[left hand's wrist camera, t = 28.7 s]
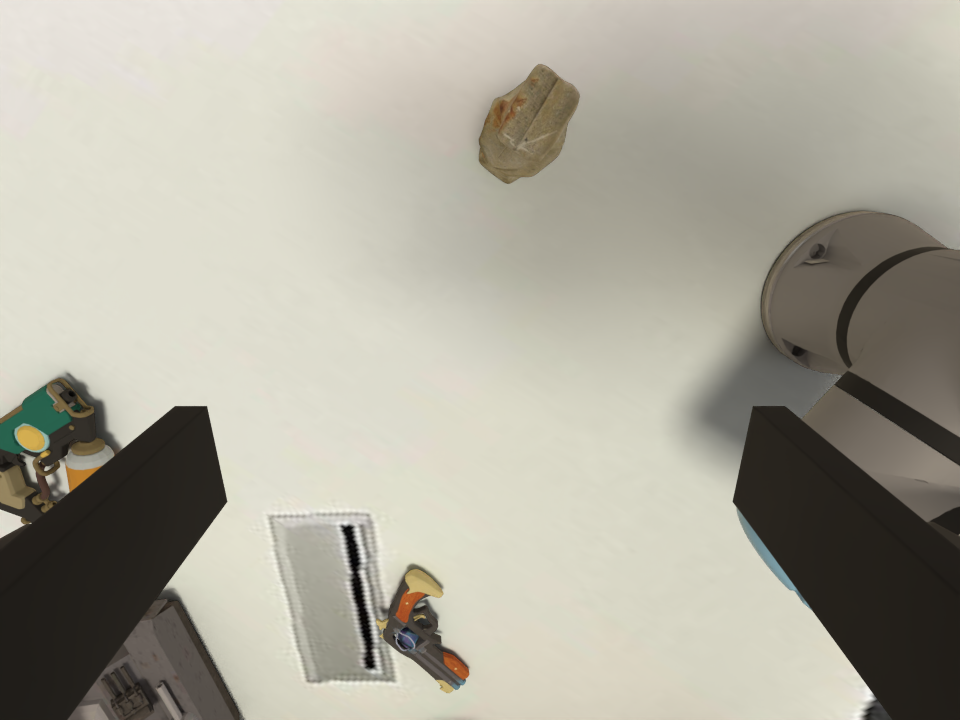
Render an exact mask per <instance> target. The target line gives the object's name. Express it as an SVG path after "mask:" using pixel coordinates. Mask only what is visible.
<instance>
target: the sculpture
mask: <svg viewBox="0 0 960 720" xmlns="http://www.w3.org/2000/svg"><path fill="white" fill-rule="evenodd" d="M579 98H580V95H579V92H578V91H577V89H576V88H575V87H574V86H573V85H572V84H570V83H568V82H566V81H564V80H563V79H561V78H560V77H559V76H558V75H557V74H556V73H555V72H553V71H552V70H551V69H550V68H548V67H547V66H545V65H542V64H538V65H537V66H536V67H535V68H534V69H533V70H532V72H531V73H530V75H529V76H528V78H527V79H526V80H525V81H524V82H523V83H522V84H520V85H519V86H518V87H516V88H515V89H514V90H512V91H511V92H509V93H508V94H506V95H504V96H502V97H498V98H496V99H494V101H493V103H492V106H491V109H490V111H489V114H488V116H487V118H486V120H485V123H484V127H483V130H482V133H481V136H480V138H479V145H480V153H479V162H480V163H481V165H483V166H484V167H485V168H486V169H487V170H488V171H489V172H491V173H492V174H493V175H495V176H496V177H497V178H499V179H500V180H502V181H503V182H505V183H507V184H510V183H512V182H514V181H515V180H517V179H518V178H520V177H531V176H534V175H535V174H537V173H538V172H539V171H541V170H542V169H543V168H544V167H546V166H547V165H548V164H550V163H551V162H552V161H553V160H554V159H555V158H557V156H558V155H559V153H560V151H561V149H562V146H563V144H564V141H565V136H566V130H567V124H568V122H569V120H570V119H571V117H572V115H573V114H574V112H575V110H576V108H577V105H578V102H579Z"/></svg>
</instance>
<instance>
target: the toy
mask: <svg viewBox="0 0 960 720" xmlns="http://www.w3.org/2000/svg"><path fill="white" fill-rule="evenodd" d="M68 720H239V713H238V711H237V709H236V707H235V705H234V703H233V701H232V700H231V698H230V696H229V694H228V692H227V690H226V688H225V687H224V685H223V683H222V681H221V679H220V677H219V675H218V674H217V672H216V670H215V668H214V666H213V664H212V662H211V661H210V659H209V657H208V655H207V653H206V651H205V649H204V648H203V646H202V644H201V642H200V640H199V638H198V636H197V635H196V633H195V631H194V629H193V627H192V625H191V623H190V622H189V620H188V618H187V616H186V614H185V612H184V610H183V609H182V607H181V605H180V603H179V601H172V602H167V599H162V600H155V601H154V602H153V604H152V605H151V607H150V608H149V609H148V611H147V612H146V613H145V615H144V616H143V617H142V619H141V620H140V622H139V623H138V624H137V626H136V627H135V628H134V630H133V631H132V632H131V634H130V635H129V637H128V638H127V639H126V641H125V642H124V643H123V645H122V646H121V647H120V649H119V650H118V652H117V653H116V654H115V656H114V657H113V658H112V660H111V661H110V662H109V664H108V665H107V667H106V668H105V669H104V671H103V672H102V673H101V675H100V676H99V677H98V679H97V680H96V682H95V683H94V684H93V686H92V687H91V688H90V690H89V691H88V693H87V694H86V695H85V697H84V698H83V699H82V701H81V702H80V703H79V705H78V706H77V708H76V709H75V710H74V712H73V713H72V714H71V716H70V717H69V718H68Z"/></svg>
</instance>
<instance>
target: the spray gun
mask: <svg viewBox="0 0 960 720" xmlns="http://www.w3.org/2000/svg"><path fill="white" fill-rule="evenodd" d="M55 382H60V383H61V384H63V385H64V387H65V388H66V389H67V390H63V389H62V388H61V387H60V386H59V385H56V384H53V383H55ZM77 401H78V402H79V403H80V404H75V403H76V402H77ZM80 405H81V406H82V407H83V408H84V409H88V410H81V411H80V407H81V406H80ZM74 439H76V440H78V441H77V442H75V443H74V444H73V445H72V447H71V450H72V451H71V452H70V453H69V454H68V448H69V442H71V441H72V440H74ZM22 451H23V452H25V453H27V454H29V455H31V456H34V457H36V458H35V459H34V461H33V467H34V469H35V470H36V477H37V481H38V484H39V486H40V488H41V490H42V492H41V493H39V494H38V493H37V492H36V490H35V489H34V488H31V487H28V486H26V484H25V481H24V478H23V475H22V472H21V469H20V467H19V466H25V465H26V462H24V461H22V460H21V458H20V453H21V452H22ZM67 454H68V455H67ZM66 455H67V459H66V464H65V465H66V471H67V477H68V483H69V490H70V492H71V491H72V490H73V489H75V488H76V487H77V486H78V485H79V484H81V483H82V482H83V481H84V480H86V479H87V478H88V477H89V476H90V475H92V474H93V473H94V472H95V471H97V470H98V469H99V468H100V467H101V466H103V465H104V464H105V463H106V462H108V461H109V460H110V459H111V458H112V457H114V456H115V455H114V452H113V450H112V449H111V448H110V447H109V446H107V445H105V441H104V440H103V439H100V438H96V428H95V416H94V407H93V406H88V405H87V404H86V403H85V402H84V401H83V400H82V399H81V398H80V396H79V395H78V394H77V393H76V392H75V391H74V390H73V388H72V387H71V386H70V385H69V384H68V383H67V382H66V381H65V380H64V379H61V378H58V379H55V380H53V381H51V382H49V383H48V384H47V385H45V386H44V387H42V388H40V389H39V390H37V391H36V392H34V393H33V394H31V395H30V396H28V397H27V398H25V399H24V401H23V403H22V405H21V406H19V407H17V408H16V409H14V410H13V411H11V412H10V413H8V414H7V415H5V416H4V417H2V418H1V419H0V509H1V510H4V511H6V512H9V513H12V514H15V515H18V516H20V517H22V518H21V522H22V523H23V524H29V523H33V522H34V521H36V520H37V519H38V518H39V517H40V516H42V515H43V514H44V513H45V512H46V511H48V510H49V509H50V508H51V507H53V506H54V505H55V504H56V503H57V502H56V501H49V500H48V497H49V495H50V488H49V486H48V484H47V482H46V479H45V476H48V475H50V474H52V473H54V472H55V471H56V470H57V469H58V468H59V467H60V463H59V461H58V460H59V459H61V458H63V457H64V456H66ZM39 461H41V462H40V463H39ZM53 463H54V467H53V468H51V469H50V470H48V471H44V468H45V467H46V466H50V465H51V464H53Z"/></svg>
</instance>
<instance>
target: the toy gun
mask: <svg viewBox="0 0 960 720" xmlns="http://www.w3.org/2000/svg"><path fill="white" fill-rule="evenodd" d="M442 595H443V591H442V589H441V588H440V587H439V586H438V584H437V583H436V582H435V581H434V580H433V579H432V578H431V577H429V576H428V575H427V574H426V573H424V572H422V571H420V570H418V569H414V570H410V571H409V572H408V573H407V574H406V575H405V579H404V581H403V582H402V584H401V586H400V587H399V590H398V592H397V594H396V597H395V600H394V602H393V603H392V604H391V605H390V609H389V618H388V619H385V620H383V621H381V620H379V619H377V618H376V623H377V625H378V626H379V628H380V630H381V629H382V628H384V631H383V634H381V635H380V637H381V638H383V639H384V640H385V641H386V642H387V643H388V644H390V645H391V646H392V647H393V648H395V649H396V650H397V651H398V652H400V653H401V654H403V655H405V656H407V657H409V658H411V659H412V660H414V661H415V662H416V663H417V664H419V665H420V666H421V667H422V668H423V669H424V670H425V671H427V672H428V673H429V674H430V675H431V676H432V677H433V678H434V679H435V680H436V681H437V682H438V683H440V686H442V687H441V688H440V689H441V690H442V691H444V692H446V693H450V692H452V691H453V690H454V689H455V690H458V689H459V688H460V685H464V684H465V682H466V678H467V677H468V676H469V669H468V668H467V667H466V666H465V665H464V664H463V663H462V662H461V661H459V660H458V659H457V658H456V657H455V656H454V655H452V654H449V653H446V652H442V651H441V650H440V649H438V648H437V647H436V646H435V645H434V644H441V636H440V635H437V634H435V633H433V632H434V631H436V629H437V628H438V621H437V619H435V618H434V617H433V616H432V614H431V613H430V611H429V609H428V607H427V606H426V605H424V606H422V607H420V608H417V609H414V607H415V606H416V604H417V603H418V602H419V601H420V600H422V599H423V598H426V597H428V596H434V597H437V598H440V597H441V596H442ZM422 613H424V614H422ZM425 616H426V618H427V620H428V621H429V622H430V624H428V625H423V624H422V623H420V622H419V621H418V620H417V619H419V618H424V619H425ZM406 626H407V627H408V628H405V627H406ZM394 634H396V635H397V636H396V637H395V635H394ZM397 637H398V639H399V640H398V639H397Z"/></svg>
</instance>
